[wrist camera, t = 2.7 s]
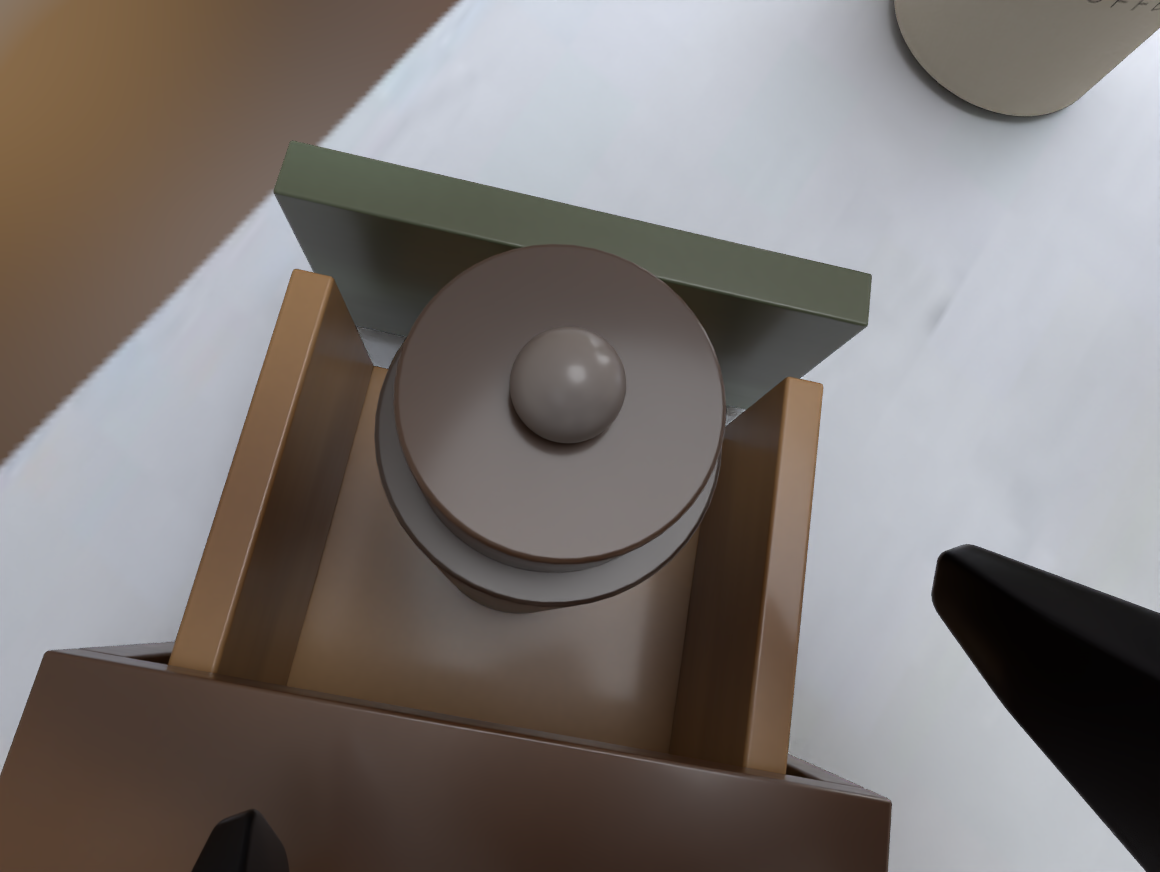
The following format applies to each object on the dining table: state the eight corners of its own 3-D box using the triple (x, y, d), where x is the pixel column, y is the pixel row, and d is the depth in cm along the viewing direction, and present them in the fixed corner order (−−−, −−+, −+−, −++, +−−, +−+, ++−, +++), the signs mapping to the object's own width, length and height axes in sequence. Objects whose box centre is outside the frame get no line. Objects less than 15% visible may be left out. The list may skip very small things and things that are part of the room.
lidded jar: (592, 628, 18) (771, 644, 6) (412, 595, 17) (274, 550, 6) (622, 455, 19) (816, 216, 8) (453, 420, 18) (400, 118, 7)
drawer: (360, 245, 20) (306, 87, 14) (766, 335, 21) (877, 222, 15) (221, 721, 17) (74, 776, 11) (710, 805, 18) (822, 900, 12)
